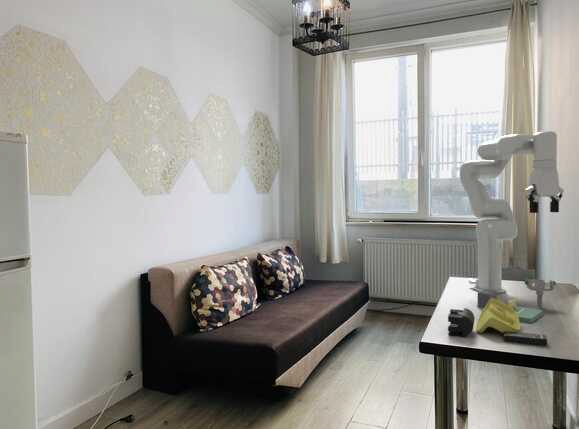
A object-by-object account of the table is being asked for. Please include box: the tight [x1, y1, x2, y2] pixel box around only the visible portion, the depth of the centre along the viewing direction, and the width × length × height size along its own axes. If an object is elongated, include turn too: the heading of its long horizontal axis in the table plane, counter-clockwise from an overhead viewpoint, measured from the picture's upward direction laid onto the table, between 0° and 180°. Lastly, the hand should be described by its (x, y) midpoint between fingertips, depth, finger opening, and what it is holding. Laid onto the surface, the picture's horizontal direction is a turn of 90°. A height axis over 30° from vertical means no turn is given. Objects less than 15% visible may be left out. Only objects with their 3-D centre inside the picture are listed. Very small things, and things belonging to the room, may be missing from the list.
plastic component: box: [475, 298, 521, 334], centre depth 140 cm, size 20×7×10 cm
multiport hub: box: [502, 331, 548, 347], centre depth 127 cm, size 4×11×2 cm, turn 67°
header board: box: [480, 298, 544, 324], centre depth 155 cm, size 16×14×5 cm
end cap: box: [447, 307, 475, 338], centre depth 135 cm, size 10×7×7 cm
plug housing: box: [477, 289, 498, 309], centre depth 167 cm, size 4×8×6 cm, turn 136°
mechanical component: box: [524, 278, 557, 308], centre depth 166 cm, size 3×10×10 cm, turn 78°
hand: (544, 212), depth 161 cm, fingers open, 9 cm apart
